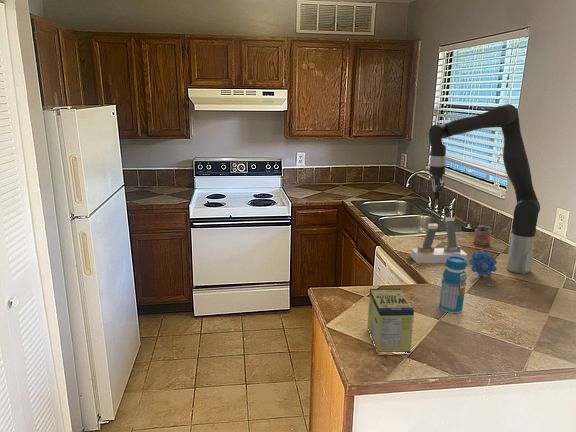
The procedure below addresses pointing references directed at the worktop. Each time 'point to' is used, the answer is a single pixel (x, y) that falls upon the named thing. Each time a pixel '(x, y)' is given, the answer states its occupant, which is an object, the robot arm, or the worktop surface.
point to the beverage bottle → (453, 285)
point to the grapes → (483, 263)
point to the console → (436, 254)
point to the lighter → (482, 235)
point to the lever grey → (451, 233)
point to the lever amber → (429, 237)
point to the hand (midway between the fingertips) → (435, 198)
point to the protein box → (390, 320)
